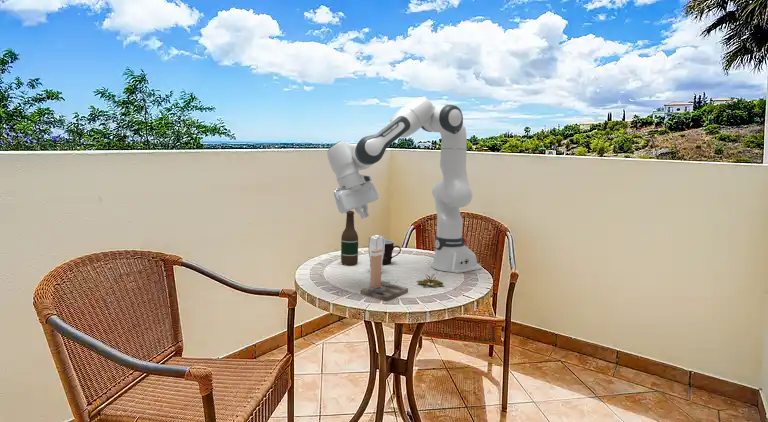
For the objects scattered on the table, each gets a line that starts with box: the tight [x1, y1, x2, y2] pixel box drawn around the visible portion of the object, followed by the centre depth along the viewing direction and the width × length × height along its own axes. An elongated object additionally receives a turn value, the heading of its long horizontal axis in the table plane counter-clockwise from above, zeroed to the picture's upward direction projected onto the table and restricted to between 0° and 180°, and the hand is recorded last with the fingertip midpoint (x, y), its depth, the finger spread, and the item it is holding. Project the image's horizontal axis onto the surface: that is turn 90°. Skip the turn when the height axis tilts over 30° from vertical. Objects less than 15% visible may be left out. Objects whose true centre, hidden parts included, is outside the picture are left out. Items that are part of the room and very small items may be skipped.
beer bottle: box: [340, 210, 359, 267], centre depth 203 cm, size 8×8×24 cm
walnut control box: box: [360, 281, 409, 302], centre depth 166 cm, size 12×13×3 cm
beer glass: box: [367, 234, 386, 273], centre depth 193 cm, size 7×7×15 cm
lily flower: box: [416, 274, 445, 289], centre depth 178 cm, size 12×12×5 cm
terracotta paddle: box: [369, 249, 382, 288], centre depth 165 cm, size 2×4×14 cm, turn 143°
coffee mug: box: [382, 239, 402, 266], centre depth 206 cm, size 12×9×10 cm
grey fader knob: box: [381, 279, 391, 286], centre depth 169 cm, size 2×2×2 cm
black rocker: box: [374, 288, 387, 293], centre depth 160 cm, size 4×2×1 cm, turn 53°
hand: (365, 217), depth 171 cm, fingers closed
